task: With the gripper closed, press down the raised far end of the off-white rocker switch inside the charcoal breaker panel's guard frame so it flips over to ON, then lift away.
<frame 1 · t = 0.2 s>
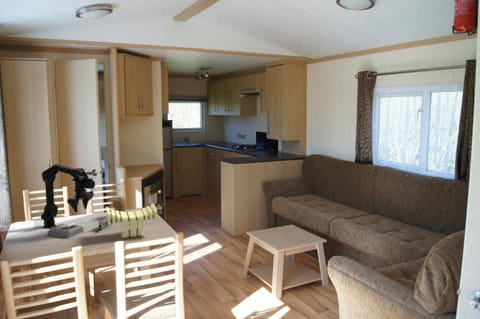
hand: (80, 210, 265), 14 cm above the table, tool pointing down, fingers open, 9 cm apart
slatted curved stool: (132, 234, 260), on the table
stone cup: (122, 217, 298), on the table
breaker panel: (65, 233, 261), on the table
handheld radio: (105, 228, 275), on the table
breaker switch: (65, 225, 261), point 5 cm above the table, hinge at -15.0°
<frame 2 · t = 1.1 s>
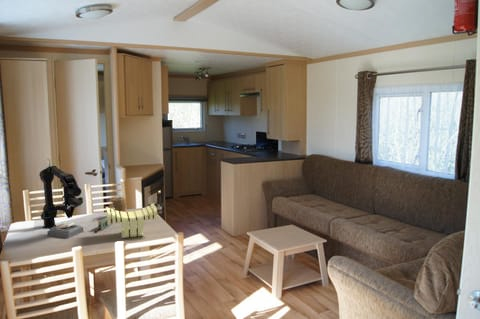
hand: (70, 217, 259), 11 cm above the table, tool pointing down, fingers closed
nothing on the table moved.
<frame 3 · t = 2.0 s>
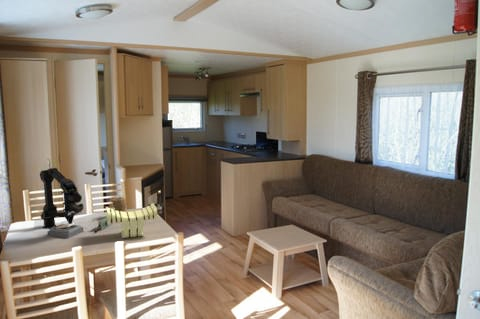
hand: (70, 224, 259), 7 cm above the table, tool pointing down, fingers closed, pressing on breaker switch
breaker switch: (65, 225, 261), point 5 cm above the table, hinge at -14.4°, touching gripper
everything else where it was.
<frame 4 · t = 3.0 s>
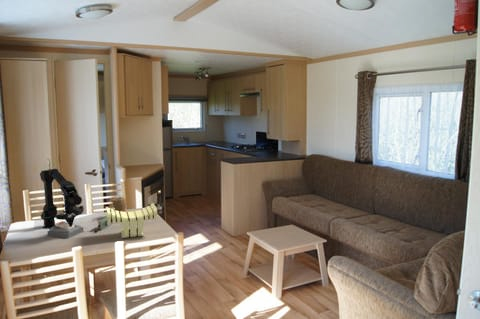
hand: (70, 226, 260), 5 cm above the table, tool pointing down, fingers closed
breaker switch: (65, 225, 261), point 5 cm above the table, hinge at 12.6°
everything else where it was.
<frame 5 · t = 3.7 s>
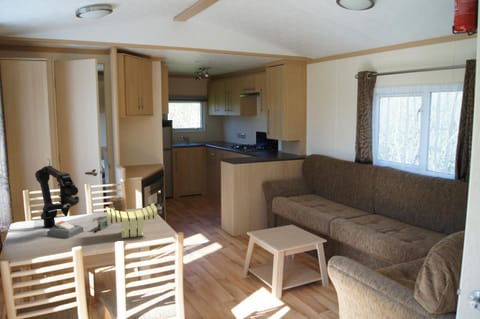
hand: (66, 216, 263), 11 cm above the table, tool pointing down, fingers closed
breaker switch: (65, 225, 261), point 5 cm above the table, hinge at 17.7°
everything else where it was.
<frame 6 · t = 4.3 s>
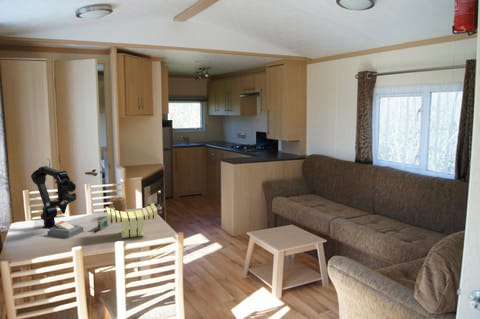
hand: (63, 213, 266), 12 cm above the table, tool pointing down, fingers closed
breaker switch: (65, 225, 261), point 5 cm above the table, hinge at 19.0°
everything else where it was.
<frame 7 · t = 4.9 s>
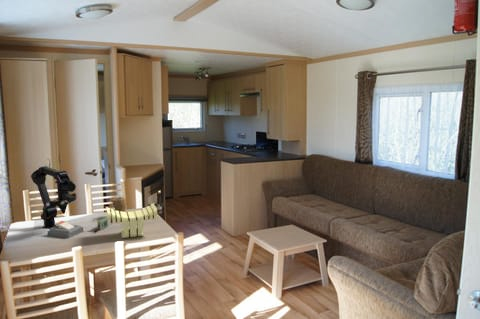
hand: (63, 213, 266), 12 cm above the table, tool pointing down, fingers closed
breaker switch: (65, 225, 261), point 5 cm above the table, hinge at 19.5°
everything else where it was.
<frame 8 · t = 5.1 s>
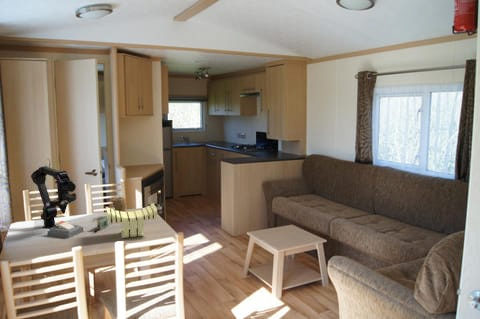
hand: (63, 213, 266), 12 cm above the table, tool pointing down, fingers closed
at the end: breaker switch at +20° (first picture: -15°); handheld radio moved 1.3 cm from its start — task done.
